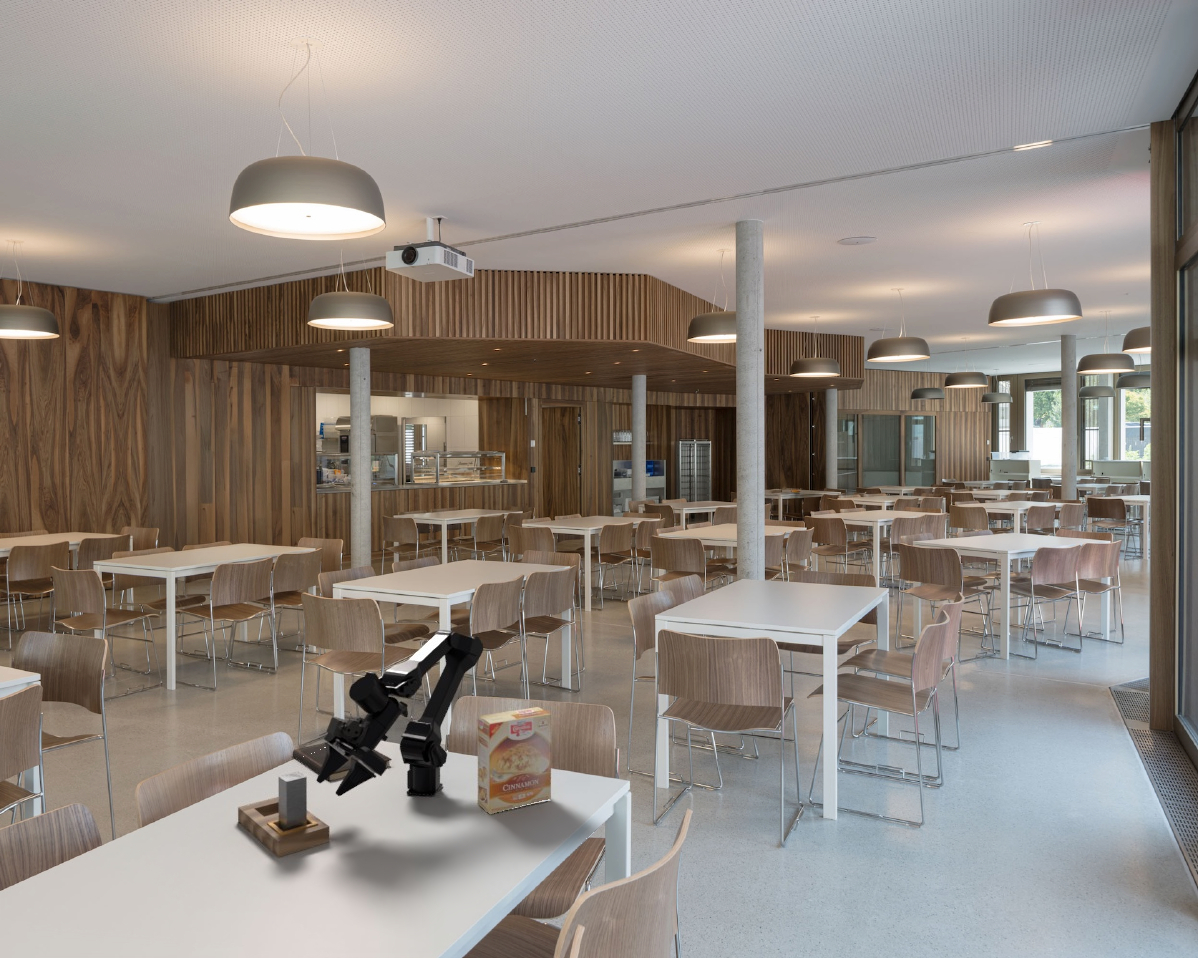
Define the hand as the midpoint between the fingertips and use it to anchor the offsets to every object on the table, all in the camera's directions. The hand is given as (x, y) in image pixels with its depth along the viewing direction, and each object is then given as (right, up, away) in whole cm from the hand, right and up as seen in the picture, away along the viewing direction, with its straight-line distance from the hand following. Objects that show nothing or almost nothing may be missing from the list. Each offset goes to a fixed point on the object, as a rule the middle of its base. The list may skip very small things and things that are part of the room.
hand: (327, 788), depth 171 cm
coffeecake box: (+37, -8, +14) cm, 40 cm away
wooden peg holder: (-9, -8, -1) cm, 12 cm away
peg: (-5, -8, -5) cm, 11 cm away
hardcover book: (-10, -9, +41) cm, 43 cm away
